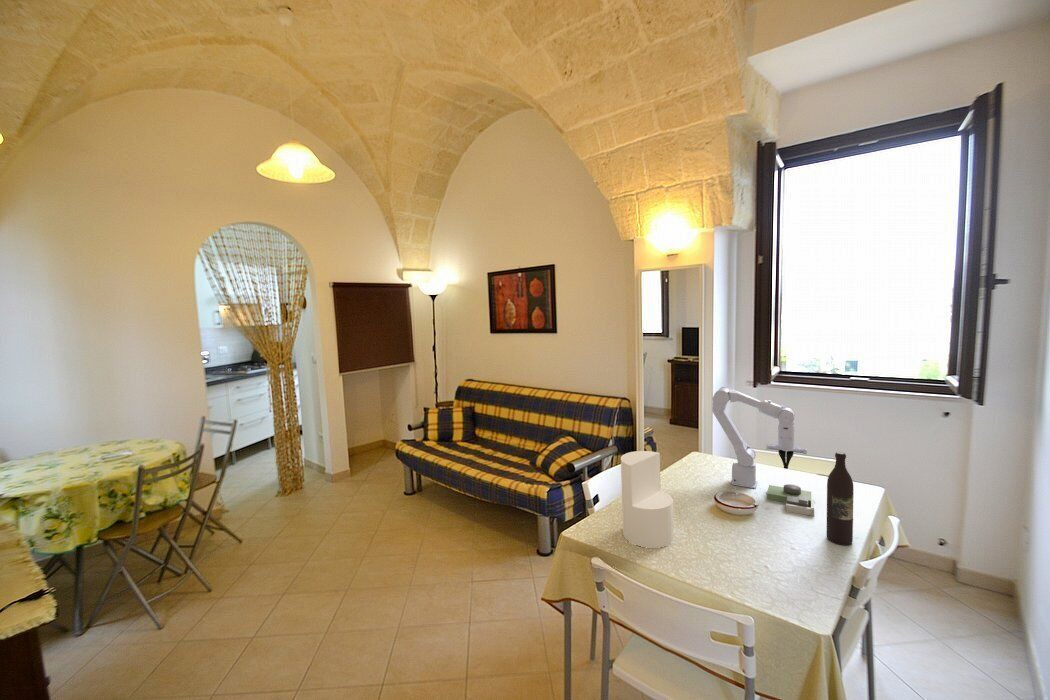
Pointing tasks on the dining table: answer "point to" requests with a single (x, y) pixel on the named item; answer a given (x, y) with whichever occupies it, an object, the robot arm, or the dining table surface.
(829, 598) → the dining table surface
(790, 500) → the grey stepped block
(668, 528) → the white stepped pillar
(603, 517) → the dining table surface
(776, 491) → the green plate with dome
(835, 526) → the wine bottle
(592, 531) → the dining table surface
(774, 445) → the robot arm
